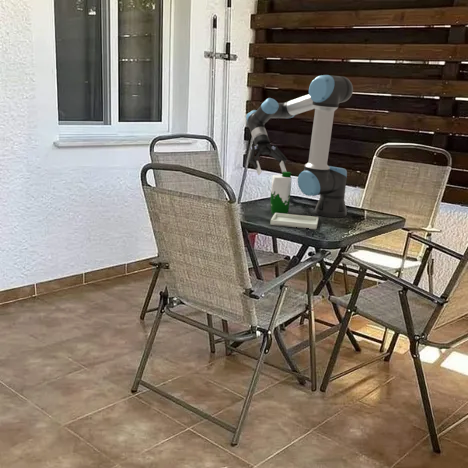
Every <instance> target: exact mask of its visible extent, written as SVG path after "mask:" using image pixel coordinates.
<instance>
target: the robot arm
mask: <svg viewBox="0 0 468 468" xmlns="http://www.w3.org/2000/svg"><path fill="white" fill-rule="evenodd" d="M353 92H354V87H353V84H352V81H350V79H349V78H348V77H346V76H343V75H342V76H341V75H329V74H323V75H322V74H321V75H318V76H316V77H315V78H314V79H313V80H312V81H311V82H310V84H309V88H308V94H305V95H302V96H299V97H297V98H294V99H290V100H288V101H286V102H278V101H277V100H276V99H274V98H271V97H268V98H266V99H265V100H264V101H263V102H262V103H261V105H260V106H259V107H258V108H257V110H256V109H253V110H251V111H250V112H248V113H247V114H246V116H245V119H246V123H247V125H248V128H249V130H250V131H249V132H250V134H251V137H252V140H253V143H254V144H252V145H251V146H250V154H249V158H248V163H251V165H253V168H254V169H255V170H256V173H257V175H258V176H260V175H261V173H262V169H261V165H260V163H259V160H258V158H259V157H260V156H261V155H262V156H266V155H267V156H268V155H269V157H272V158H273V159H275V160H276V161H277V162H278V163H279V166H280V170H281V173H282V172H288V171H287V169H286V167H287V165H286V162H287V161H288V158H287V157H286V155H285V154H284V153H283V152H282V151H281V150H280V149H279V148H278V145H277V144H274V145H271V140H270V138H269V136H268V132H267V130H266V127H265V124H266V123H268V122H269V120H270V119H291V118H294V117H295V116H297V115H299V114H302V113H305V112H308V111H312V110H314V113H313V114H314V117H313V122H312V123H313V124H312V132H311V138H310V139H311V140H310V147H309V155H308V162H307V163H305V164H304V168H303V171H301V172H300V173H299V175H298V177H297V185H298V188H299V190H300V191H301V192H302V194H303V195H306V196H309V197H311V196H312V197H315V196H319V199H318V201H317V203H316V206H315V209H314V214H316V215H317V216H321V217H327V218H345V217H346V216H347V214H348V213H347V212H348V210H347V206H346V202H345V198H346V197H345V196H346V195H345V194H346V187H347V186H346V185H347V179H348V177H347V176H348V171H347V169H346V168H343V167H337V166H332V165H328V159H329V154H330V153H329V152H330V147H331V145H330V144H331V140H332V139H331V138H332V129H333V122H334V116H335V111H336V110H338V108H339V104H340V103H345V102H347V101H348V100H350V98H351V97H352V95H353ZM255 151H257V153H256V155H255V157H254V154H255ZM253 157H254V158H253Z"/></svg>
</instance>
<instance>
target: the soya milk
mask: <svg viewBox="0 0 468 468" xmlns="http://www.w3.org/2000/svg"><path fill="white" fill-rule="evenodd" d="M281 173H282V174H272V177H271V178H272V179H271V186H270V198H269V199H270V202H269V203H270V206H269V207H270V213H271V215H272V216H273V215H274V214H275V213H283V214H289V210H290V202H291V191H292V189H291V188H292V178H293V177H292V172H291V171H287V172H282V171H281Z"/></svg>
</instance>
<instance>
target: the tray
mask: <svg viewBox="0 0 468 468" xmlns="http://www.w3.org/2000/svg"><path fill="white" fill-rule="evenodd" d="M318 224H319V216H313V215H312V216H311V215H303V214H302V215H301V214H293V213H292V214H291V213H288V214H283V213H275V214H274V215H273V214H272V217H271V219H270V224H269V225H270V226H276V227H288V228H296V227H297V229H306V228H309V229H308V230H317V229H318V228H317V227H318Z"/></svg>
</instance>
